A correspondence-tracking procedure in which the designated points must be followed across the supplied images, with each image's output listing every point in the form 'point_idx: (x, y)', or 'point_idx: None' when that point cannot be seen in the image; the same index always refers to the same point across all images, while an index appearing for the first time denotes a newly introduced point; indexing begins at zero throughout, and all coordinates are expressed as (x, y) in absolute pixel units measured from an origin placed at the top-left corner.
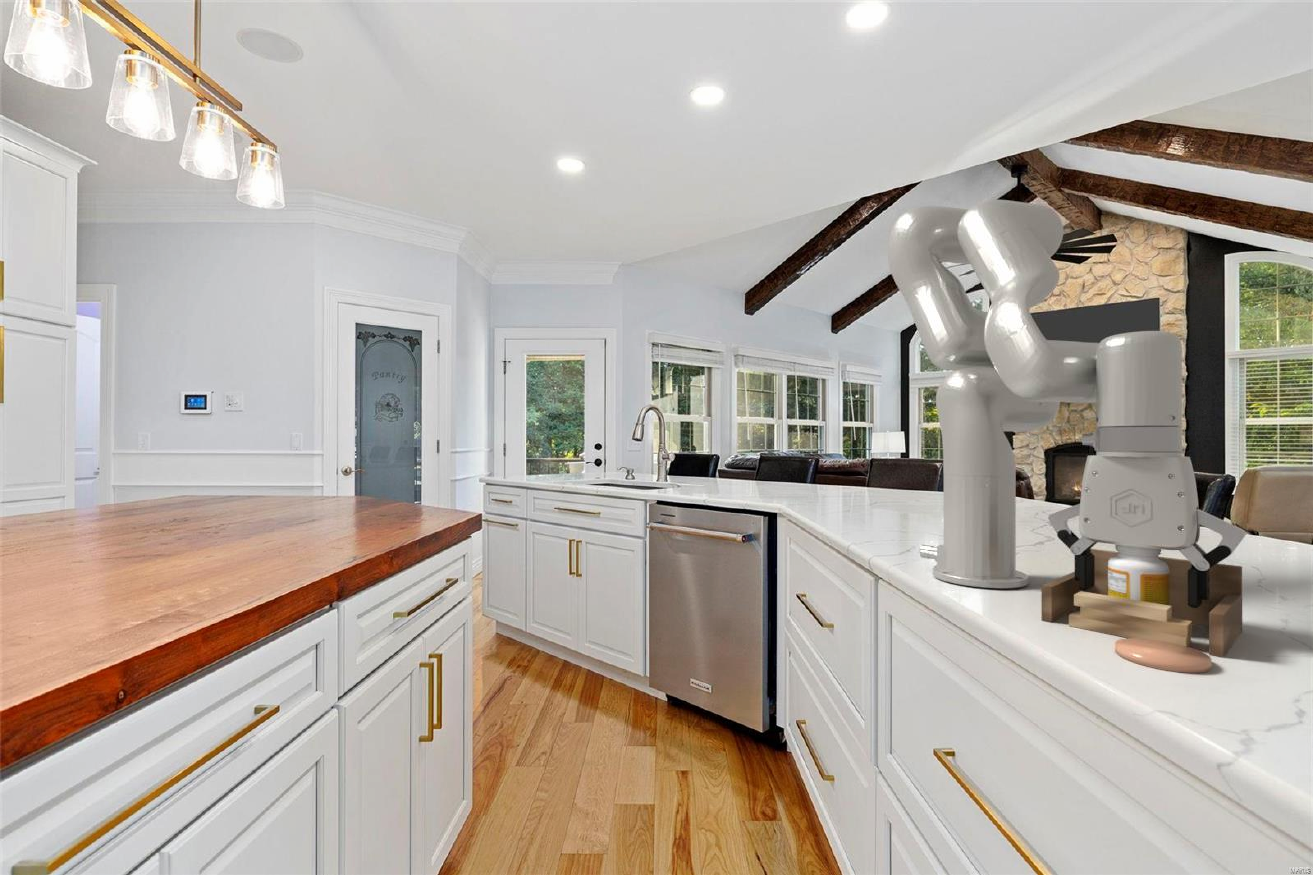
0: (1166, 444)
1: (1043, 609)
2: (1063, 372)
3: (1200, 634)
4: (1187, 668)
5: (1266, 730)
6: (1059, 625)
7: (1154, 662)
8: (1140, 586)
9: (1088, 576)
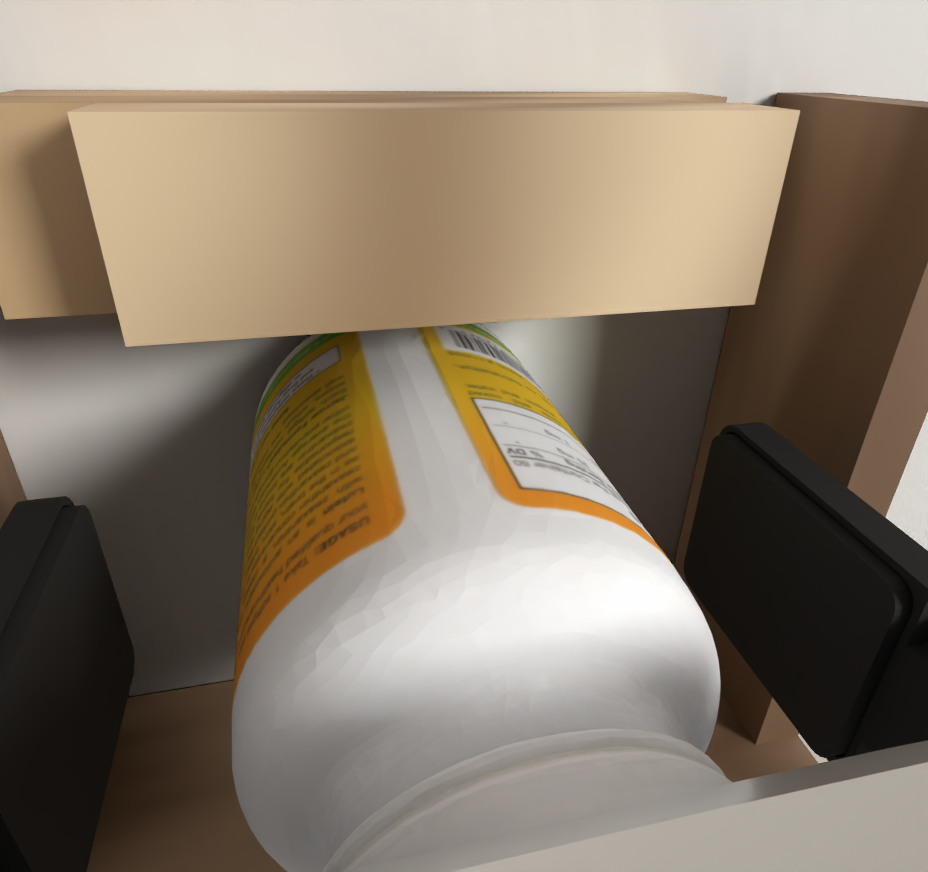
0: None
1: (873, 98)
2: None
3: (142, 534)
4: None
5: None
6: (732, 62)
7: None
8: (388, 451)
9: (762, 517)
